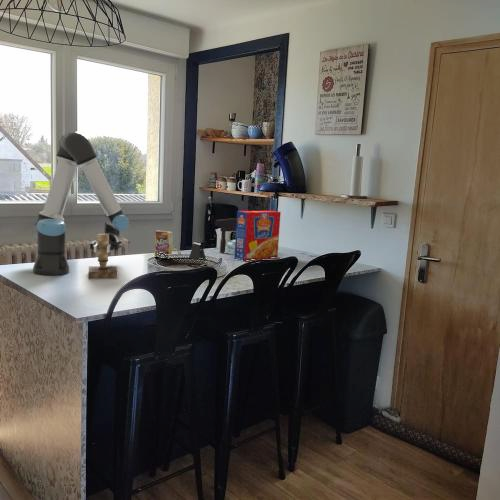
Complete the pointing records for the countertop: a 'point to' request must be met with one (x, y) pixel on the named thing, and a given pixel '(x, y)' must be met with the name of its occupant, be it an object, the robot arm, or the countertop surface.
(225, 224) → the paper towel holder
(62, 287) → the countertop surface
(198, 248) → the door stopper
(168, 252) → the candy box
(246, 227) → the pasta box
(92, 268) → the board
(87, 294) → the countertop surface
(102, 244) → the leg
